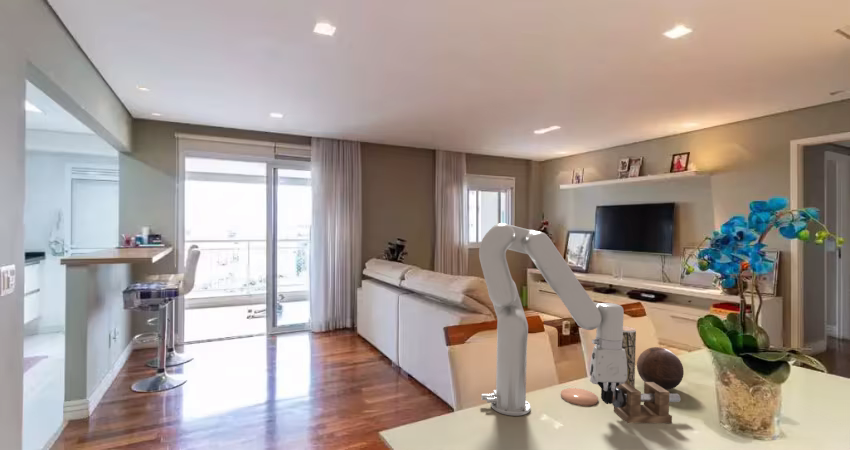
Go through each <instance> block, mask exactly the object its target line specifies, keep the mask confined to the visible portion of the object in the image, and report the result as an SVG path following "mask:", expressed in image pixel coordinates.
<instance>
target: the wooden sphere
mask: <svg viewBox="0 0 850 450" xmlns="http://www.w3.org/2000/svg"><path fill="white" fill-rule="evenodd" d="M636 369H637V373H638V376H639V377H640V379H641V380H642V381H643V383H644V382H654V383H656V384H657V385H659V386H660V387H662V388H664V389H665V390H667V391H669V390H672V389H675V388H676V387H678V386H679V385H680V384H681V382H683V381H682V380H683V377H684V366H683V364H682V361H681V360H680V358H679V357H678V356H677V355H676V354H675V353H674V352H673V351H671V350H669V349H667V348H664V347H663V348H662V347H660V346H658V347H657V346H655V347H649V348H647V349H644V350H643V351H642V352H641V353H640V355H638V358H637V361H636Z"/></svg>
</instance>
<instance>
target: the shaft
mask: <svg viewBox="0 0 850 450" xmlns="http://www.w3.org/2000/svg"><path fill="white" fill-rule="evenodd" d="M680 401H681V396H680V394H679V393H669V403H671V402H672V403H679V402H680ZM626 402H627V394H624V392H623V390H622V389H621V388H615V391H613V400H612V404H611V405H612V406H613V408H614V407H616V408H623V407H625V405H626ZM644 402H655V394H644V393H641V403H644Z"/></svg>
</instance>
